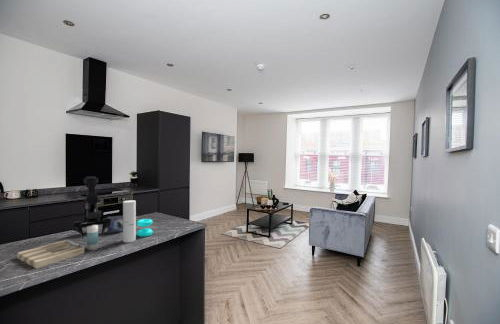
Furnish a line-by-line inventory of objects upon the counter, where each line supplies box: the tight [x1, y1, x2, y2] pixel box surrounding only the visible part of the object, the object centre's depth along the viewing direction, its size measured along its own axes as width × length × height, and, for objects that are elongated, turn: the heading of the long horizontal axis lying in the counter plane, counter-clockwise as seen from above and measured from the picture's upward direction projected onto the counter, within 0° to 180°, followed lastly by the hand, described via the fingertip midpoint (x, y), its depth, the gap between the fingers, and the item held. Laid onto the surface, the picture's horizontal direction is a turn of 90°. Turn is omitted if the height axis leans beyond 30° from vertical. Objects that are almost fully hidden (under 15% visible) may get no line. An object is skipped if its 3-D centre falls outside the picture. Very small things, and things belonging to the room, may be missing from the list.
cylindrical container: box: [122, 199, 137, 243], centre depth 153 cm, size 7×7×25 cm
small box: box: [106, 215, 123, 235], centre depth 170 cm, size 11×6×10 cm, turn 117°
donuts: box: [136, 218, 154, 238], centre depth 164 cm, size 10×10×10 cm
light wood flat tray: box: [16, 240, 85, 269], centre depth 129 cm, size 22×21×3 cm
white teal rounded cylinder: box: [86, 225, 99, 251], centre depth 139 cm, size 6×6×13 cm
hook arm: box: [64, 238, 81, 247], centre depth 137 cm, size 14×2×2 cm, turn 61°
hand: (92, 236), depth 138 cm, fingers open, 9 cm apart
